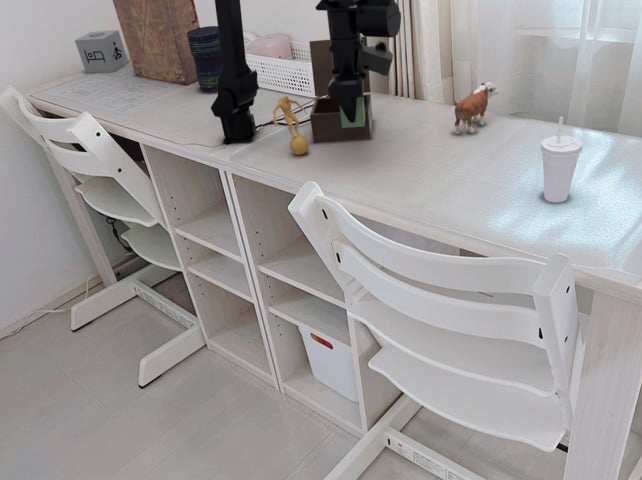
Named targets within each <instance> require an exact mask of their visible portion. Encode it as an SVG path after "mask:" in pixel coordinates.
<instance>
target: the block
mask: <svg viewBox="0 0 642 480" xmlns="http://www.w3.org/2000/svg"><path fill="white" fill-rule="evenodd" d="M340 113H341V122H342V128H348V127H363V126H364V124H365V108H364V97H358V98H357V108H356V119H355V122H354V123H350V122H349V121H348V119H347V117H346V115H345V114H344V112H343V110H342V109H341V107H340Z"/></svg>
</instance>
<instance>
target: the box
mask: <svg viewBox="0 0 642 480" xmlns="http://www.w3.org/2000/svg"><path fill="white" fill-rule="evenodd" d="M371 95H372V94H371V93H363V95H362V96H359V97H364V108H365V124H364V126H363V127H348V128H342V122H341V113H340V105H339V104H338V102H337V100H336V99H335V98H329V96H322V97H316V98H315V99H314V102H313V105H312V108H311V110H310V113H309V119H310V126H311V133H312V140H313V141H312V142H313V144H314V143H331V142H345V141H346V142H347V141H361V140H371V139H372V131H373V129H372V128H373V122H374V120H373V108H372V96H371Z"/></svg>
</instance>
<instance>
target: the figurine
mask: <svg viewBox="0 0 642 480" xmlns="http://www.w3.org/2000/svg"><path fill="white" fill-rule="evenodd" d="M292 104H296V105H297V107H299V108H300V109H301V110H303V112H304V113H305V114H307V111H306V110H305V108H304V107H303V106H302V105H301V104H300V103H299V102H298V101H297V100H294V99H291V98H289V96H288V95H285V96H282V97H279V98H278V100H277V104H276V105H275V106H274V108H273V109H272V115H273V121H274V127H279V122H278V121H277V114H276V112H277V111H278V110H279V109H281V110H282V112H283V113H284V115H283V116H282V117H283V120H284V121H285V122H286V124H287V125H288V131H289V133H290V135H291V139H290V140H289V148H290V151H291V152H292V153H293V154H295V155H298V156H301V155H304V154H306V153H307V151H308V150H309V147H310V142H309V140H308V138H307V137H306V136H305V135H303V134H302V133H301V132H300V131H299V130H298V127H299V124H300V120H299V119H298V118H297V116H296V114H295V112H294V111H292ZM293 123H295V124H294V125H293ZM293 127H294V131H295V133H296V134H294V132H293V130H292V129H293Z"/></svg>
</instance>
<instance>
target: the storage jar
mask: <svg viewBox="0 0 642 480" xmlns="http://www.w3.org/2000/svg"><path fill="white" fill-rule="evenodd" d="M192 23H196V21H192ZM187 37H188V42H189V47H190V50H191V54H192V56H193V58H194V62H195V66H196V75H197V82H198V85H199V90H200V92H201V93H204V94H218V77H219V74H220V71H221V68H222V56H221V48H220V40H219V31H218V25H210V26H200V28H197V29H193V30H191V31H189V32H187Z"/></svg>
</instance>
